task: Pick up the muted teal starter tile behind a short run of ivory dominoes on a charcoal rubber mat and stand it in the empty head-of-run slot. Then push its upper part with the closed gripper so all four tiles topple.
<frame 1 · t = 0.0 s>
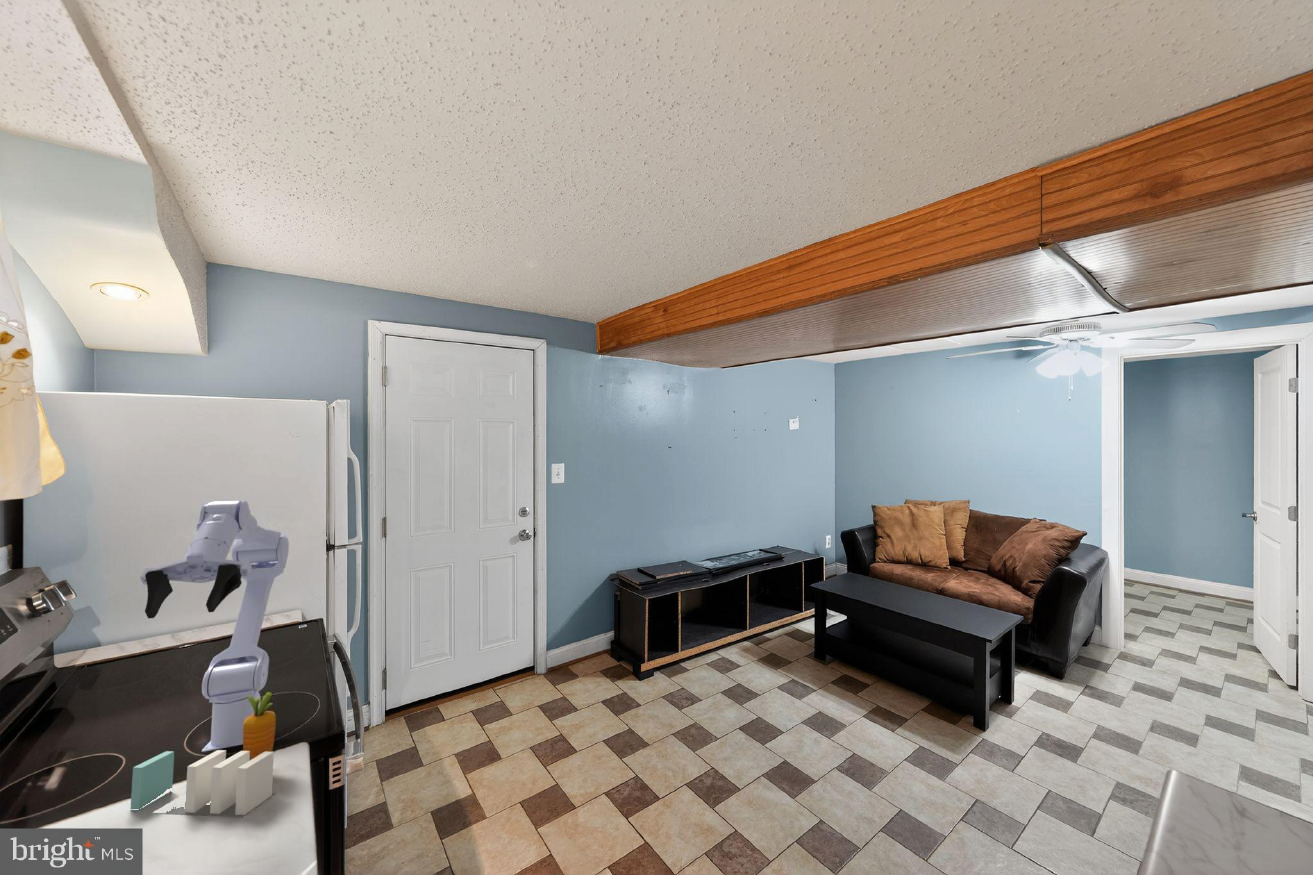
hand: (180, 611, 82), 32 cm above the counter, tool tilted 50°, fingers open, 7 cm apart
domino 3: (229, 803, 82), resting on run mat
domino 4: (254, 804, 81), resting on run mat
carrot: (257, 781, 89), on the counter
starter tile: (151, 803, 83), on the counter
domino 2: (205, 802, 82), resting on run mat
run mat: (214, 805, 82), on the counter
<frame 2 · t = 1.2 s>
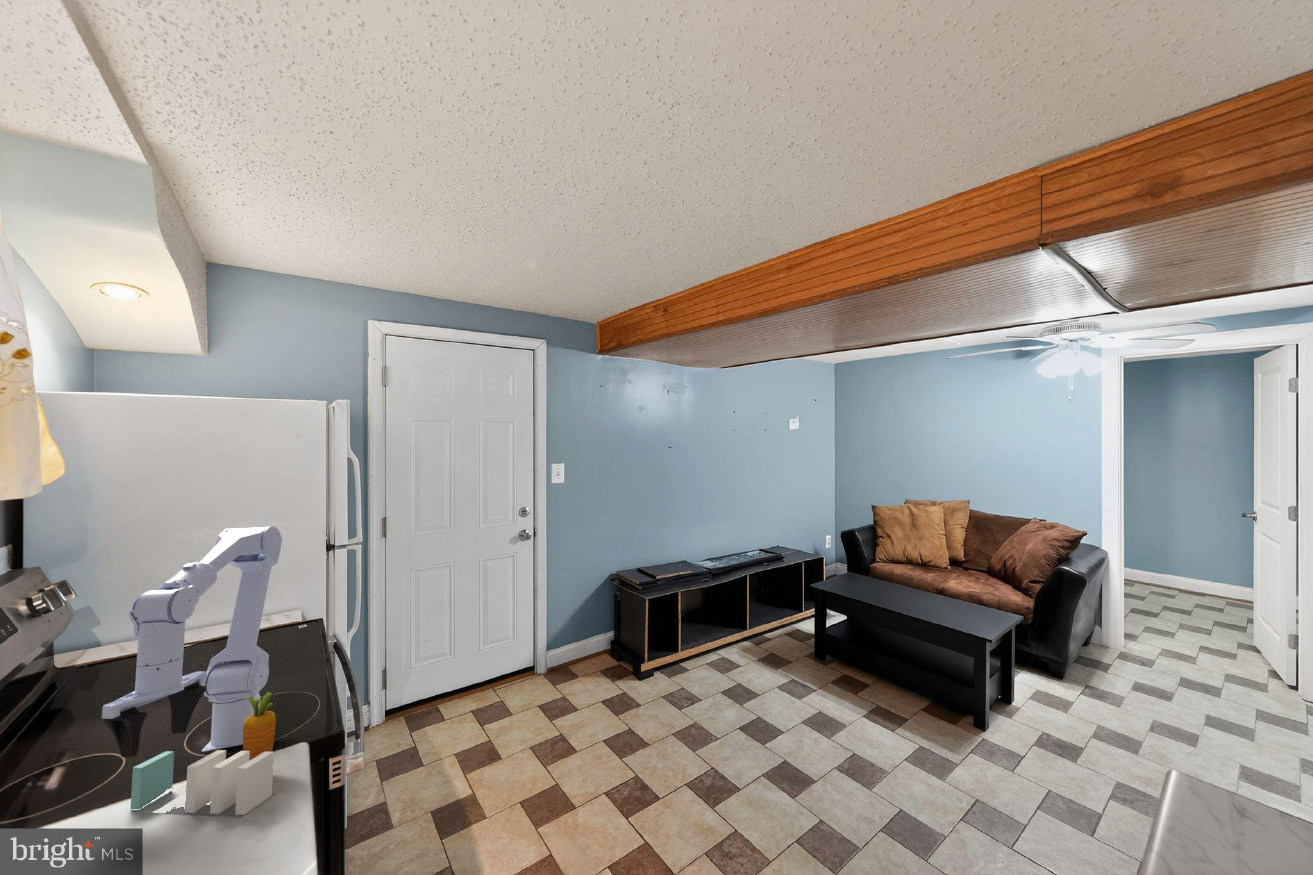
hand: (155, 743, 84), 9 cm above the counter, tool pointing down, fingers open, 7 cm apart
nothing on the counter moved.
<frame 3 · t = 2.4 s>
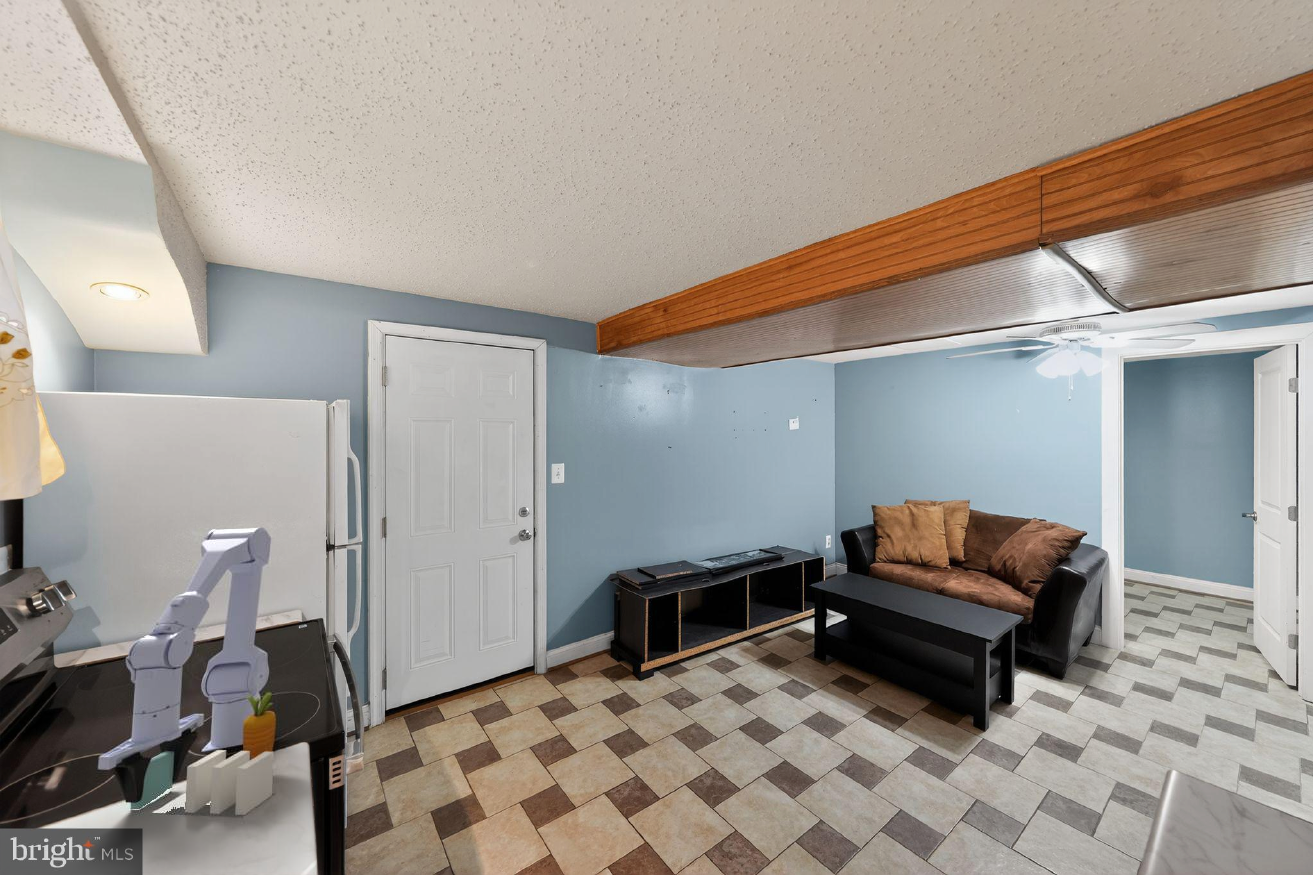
hand: (152, 790, 84), 2 cm above the counter, tool pointing down, fingers closed on starter tile, 5 cm apart
starter tile: (151, 803, 83), on the counter, touching gripper
everything else where it was.
when the fingers open (3 cm above the counter, at t = 5.8 s): starter tile moves 2 cm and tips over, resting on domino 2, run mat.
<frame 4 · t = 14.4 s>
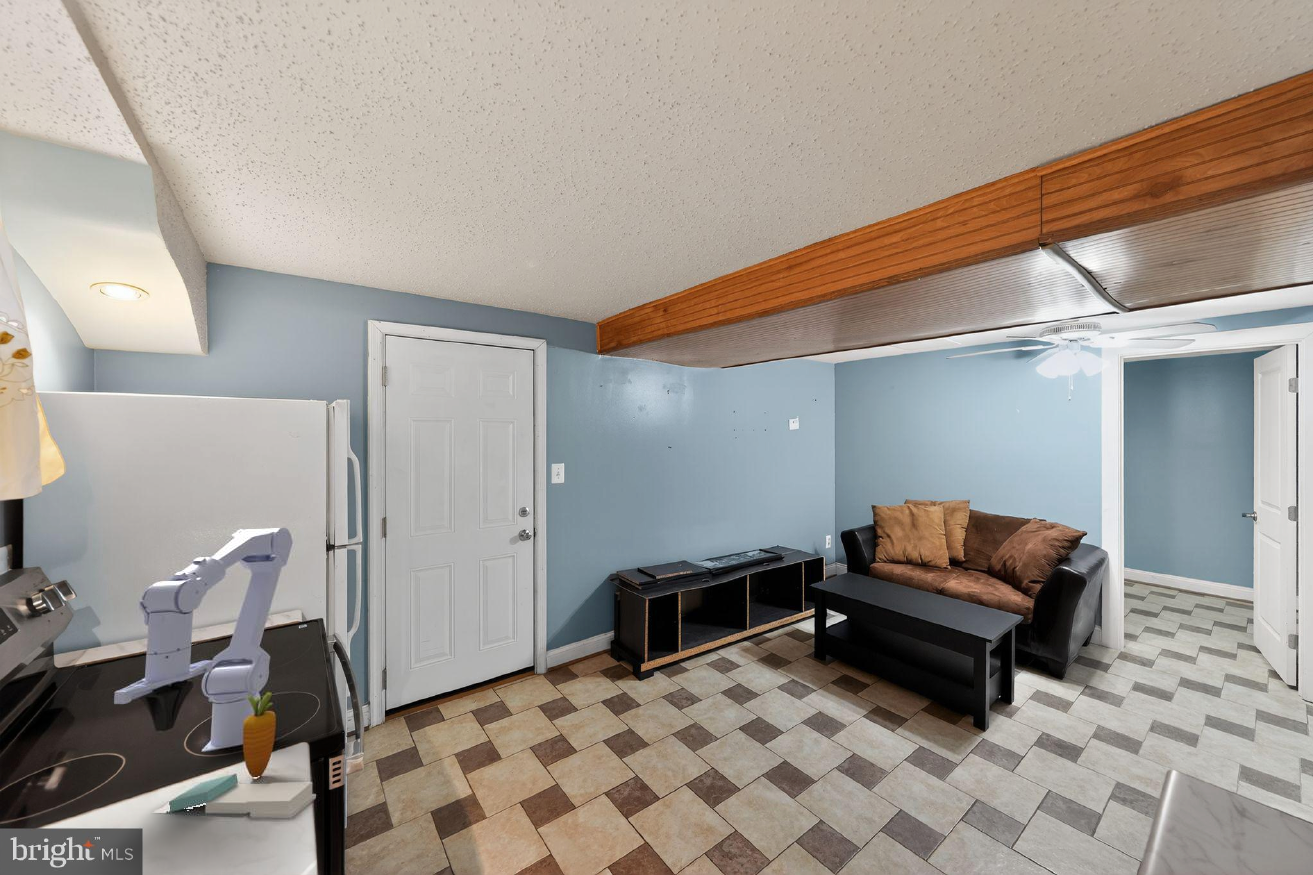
hand: (164, 729, 88), 10 cm above the counter, tool pointing down, fingers closed
domino 3: (259, 796, 81), point 2 cm above the counter, tilted 90°, touching domino 4
domino 4: (263, 807, 81), on the counter, tilted 90°, touching domino 3
starter tile: (186, 796, 83), point 1 cm above the counter, tilted 75°, touching domino 2, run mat
domino 2: (220, 797, 82), point 1 cm above the counter, tilted 90°, touching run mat, starter tile
everything else where it was.
at the end: starter tile inside the target area (0.4 cm from its centre), point 1.2 cm above the counter; domino 4 tilted 90° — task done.
